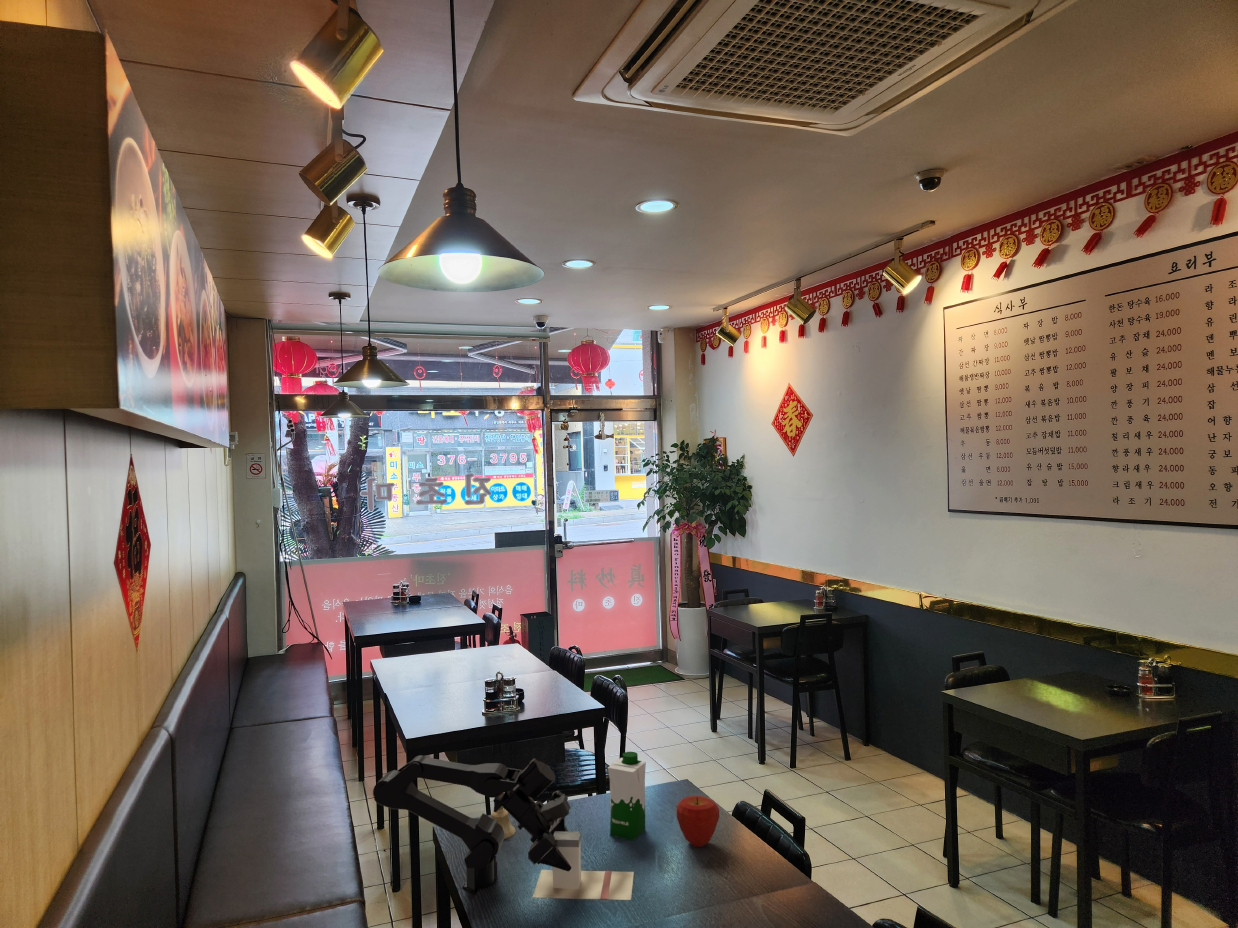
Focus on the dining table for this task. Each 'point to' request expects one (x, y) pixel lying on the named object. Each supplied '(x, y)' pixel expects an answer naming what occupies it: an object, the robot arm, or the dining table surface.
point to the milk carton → (627, 796)
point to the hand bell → (504, 821)
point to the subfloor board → (588, 886)
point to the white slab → (572, 852)
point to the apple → (697, 819)
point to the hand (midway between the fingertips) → (572, 859)
